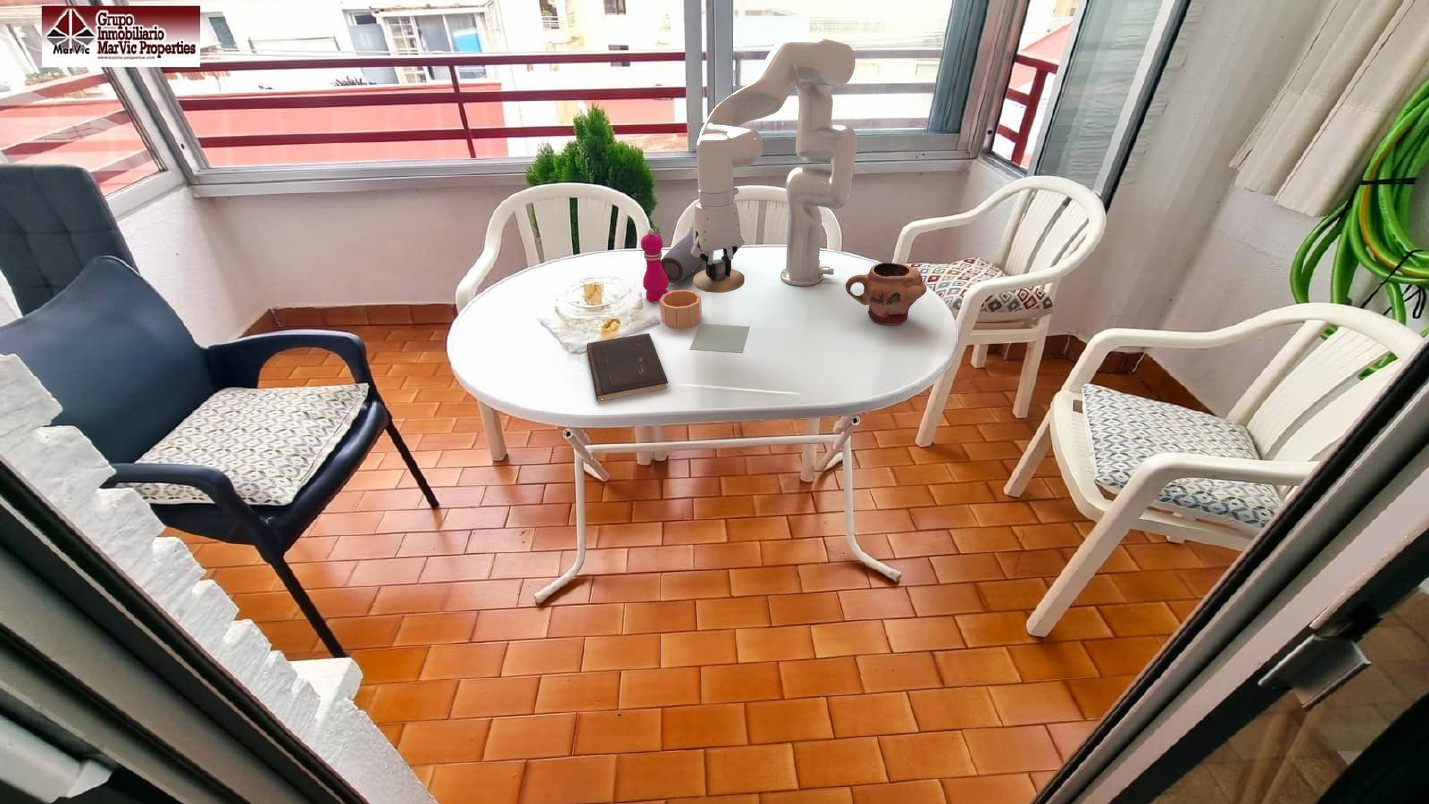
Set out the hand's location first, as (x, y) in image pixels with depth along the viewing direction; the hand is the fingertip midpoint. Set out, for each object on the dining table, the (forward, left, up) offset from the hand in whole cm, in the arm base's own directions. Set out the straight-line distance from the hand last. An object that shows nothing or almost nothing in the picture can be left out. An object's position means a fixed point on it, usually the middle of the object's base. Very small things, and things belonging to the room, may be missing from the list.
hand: (718, 275), depth 135 cm
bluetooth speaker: (+17, -39, -17) cm, 46 cm away
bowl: (+12, -9, -17) cm, 23 cm away
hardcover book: (+20, +16, -18) cm, 31 cm away
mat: (0, 0, -17) cm, 17 cm away
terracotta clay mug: (-40, -16, -17) cm, 46 cm away
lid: (0, 0, -1) cm, 1 cm away
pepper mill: (+22, -21, -17) cm, 35 cm away
